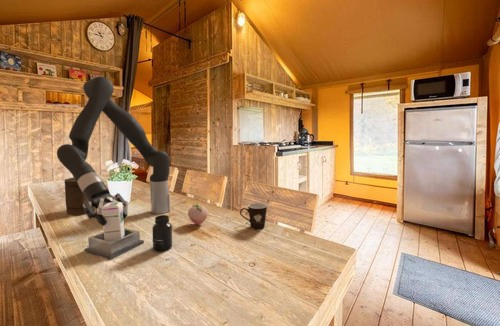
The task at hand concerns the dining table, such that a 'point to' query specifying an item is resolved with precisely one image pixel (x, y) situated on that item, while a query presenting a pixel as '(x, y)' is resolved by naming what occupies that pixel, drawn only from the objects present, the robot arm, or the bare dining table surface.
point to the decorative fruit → (197, 214)
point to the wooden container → (74, 198)
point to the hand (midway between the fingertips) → (115, 220)
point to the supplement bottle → (162, 234)
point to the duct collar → (113, 244)
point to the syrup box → (113, 221)
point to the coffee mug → (256, 215)
